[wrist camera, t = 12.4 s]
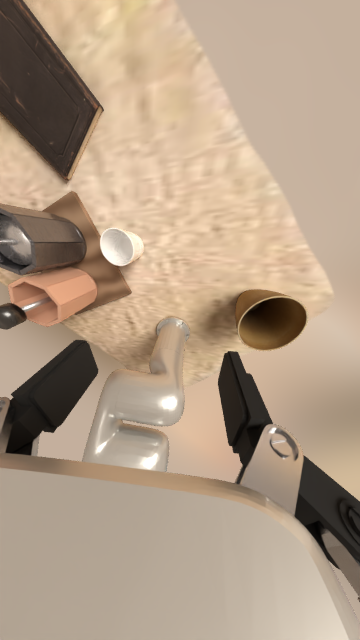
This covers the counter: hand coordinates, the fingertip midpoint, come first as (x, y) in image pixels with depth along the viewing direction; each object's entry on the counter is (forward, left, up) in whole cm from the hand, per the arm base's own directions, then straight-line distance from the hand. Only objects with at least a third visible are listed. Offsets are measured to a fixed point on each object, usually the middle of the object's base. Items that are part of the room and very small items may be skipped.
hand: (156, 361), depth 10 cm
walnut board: (+13, +32, -38) cm, 51 cm away
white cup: (+11, +12, -38) cm, 42 cm away
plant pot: (-17, -16, -38) cm, 45 cm away
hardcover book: (+43, +16, -39) cm, 60 cm away
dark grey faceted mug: (+19, +31, -37) cm, 52 cm away
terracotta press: (+7, +36, -37) cm, 52 cm away
